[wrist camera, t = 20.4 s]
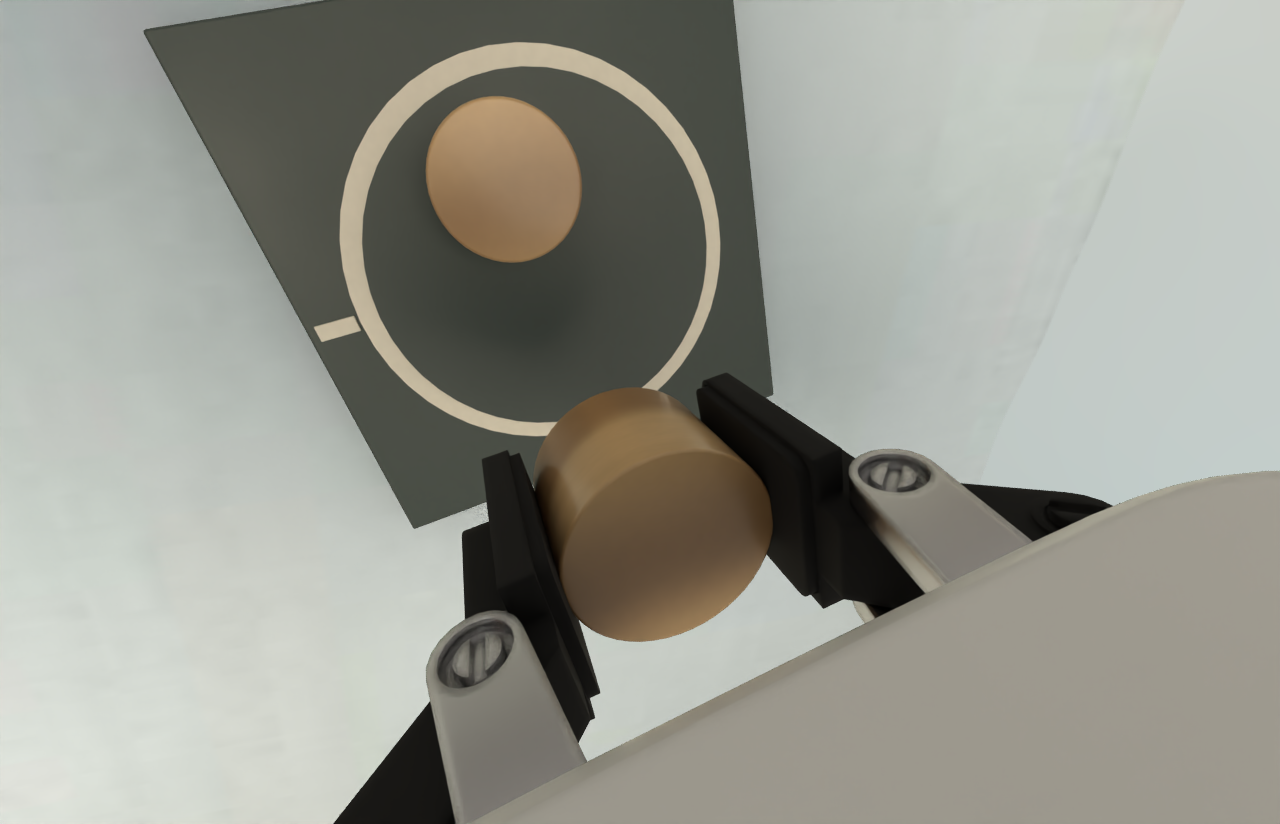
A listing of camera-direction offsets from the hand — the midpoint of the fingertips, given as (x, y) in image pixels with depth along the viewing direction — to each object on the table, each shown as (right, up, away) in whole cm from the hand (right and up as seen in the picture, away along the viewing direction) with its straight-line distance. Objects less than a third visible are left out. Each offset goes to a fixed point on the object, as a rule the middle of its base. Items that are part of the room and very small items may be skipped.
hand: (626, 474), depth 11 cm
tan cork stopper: (0, 0, 0) cm, 0 cm away
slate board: (-3, +7, +7) cm, 10 cm away
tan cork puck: (-4, +8, +5) cm, 11 cm away
